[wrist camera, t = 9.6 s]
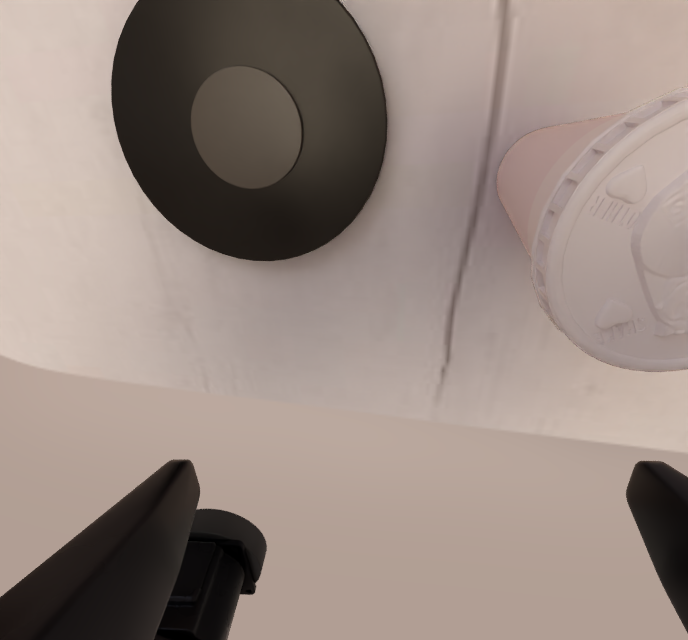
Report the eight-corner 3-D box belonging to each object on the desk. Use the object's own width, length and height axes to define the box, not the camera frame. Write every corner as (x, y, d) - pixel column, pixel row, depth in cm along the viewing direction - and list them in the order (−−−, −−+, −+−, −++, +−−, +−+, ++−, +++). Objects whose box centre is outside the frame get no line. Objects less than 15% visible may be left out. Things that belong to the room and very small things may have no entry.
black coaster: (389, 251, 19) (389, 259, 18) (162, 260, 20) (152, 268, 19) (383, -60, 14) (384, -71, 13) (81, -26, 15) (61, -34, 14)
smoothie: (644, 80, 15) (1703, 8, 3) (607, 246, 18) (1072, 546, 6) (468, 95, 16) (767, 86, 4) (459, 254, 19) (611, 539, 7)
